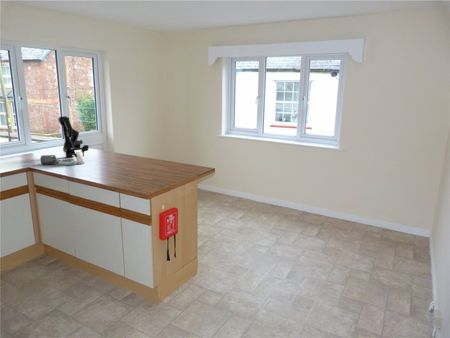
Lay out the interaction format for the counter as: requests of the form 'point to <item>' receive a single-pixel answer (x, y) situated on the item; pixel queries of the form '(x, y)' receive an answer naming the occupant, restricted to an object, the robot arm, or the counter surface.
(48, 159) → the motor
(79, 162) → the pump
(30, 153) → the counter surface
